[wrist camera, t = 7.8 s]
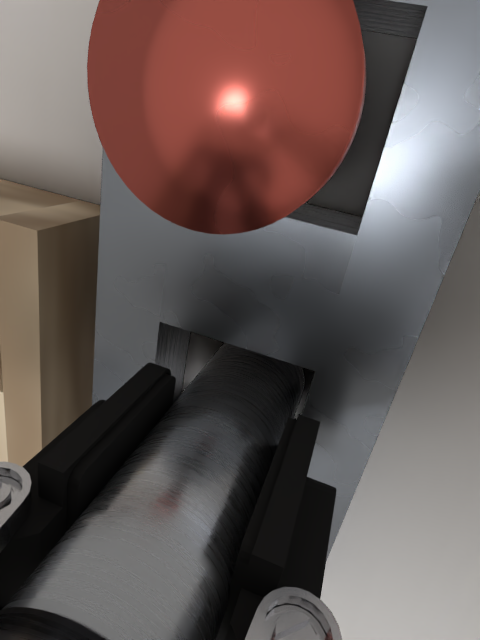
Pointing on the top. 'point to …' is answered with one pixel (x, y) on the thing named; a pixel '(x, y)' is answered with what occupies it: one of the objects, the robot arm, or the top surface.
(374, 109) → the top surface
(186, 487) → the grey metal cylinder
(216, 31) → the red topped peg
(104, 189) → the socket block
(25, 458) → the rack
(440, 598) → the top surface
